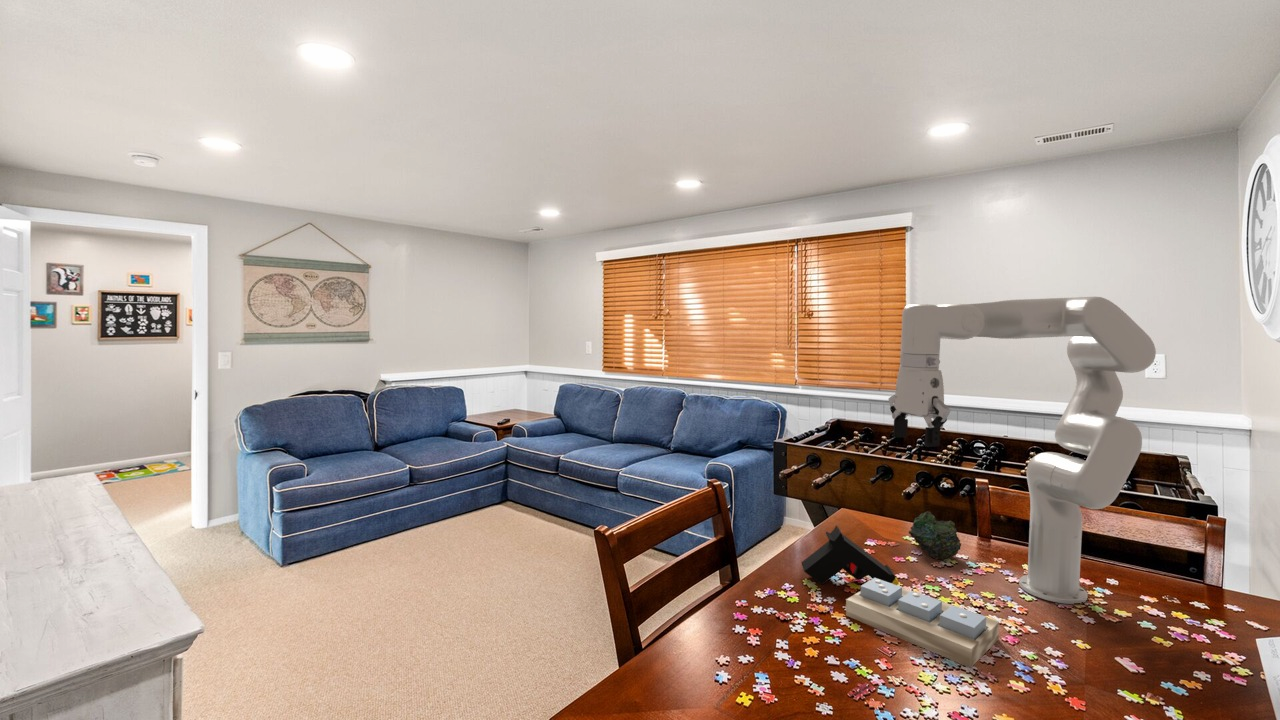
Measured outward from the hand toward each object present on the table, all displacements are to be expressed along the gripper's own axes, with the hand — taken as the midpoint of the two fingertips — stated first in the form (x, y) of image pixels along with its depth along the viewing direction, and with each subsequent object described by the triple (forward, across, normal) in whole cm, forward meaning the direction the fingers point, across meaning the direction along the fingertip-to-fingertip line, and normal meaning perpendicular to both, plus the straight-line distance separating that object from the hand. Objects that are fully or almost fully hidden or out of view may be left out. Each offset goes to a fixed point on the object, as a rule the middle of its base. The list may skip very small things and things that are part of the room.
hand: (915, 441), depth 124 cm
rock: (+35, +22, -24) cm, 48 cm away
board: (+36, -10, +5) cm, 37 cm away
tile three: (+33, -3, +9) cm, 34 cm away
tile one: (+33, -17, +2) cm, 37 cm away
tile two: (+33, -10, +5) cm, 34 cm away
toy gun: (+36, +12, +7) cm, 39 cm away
